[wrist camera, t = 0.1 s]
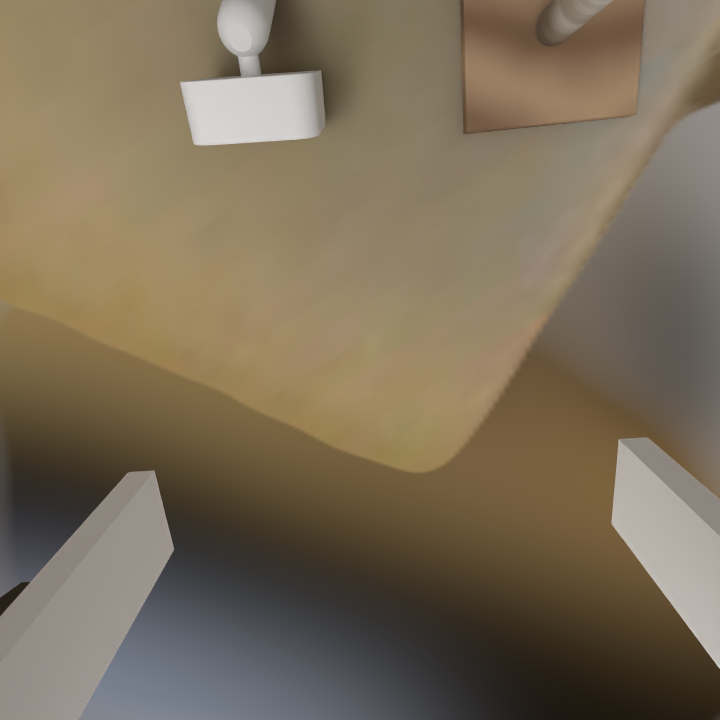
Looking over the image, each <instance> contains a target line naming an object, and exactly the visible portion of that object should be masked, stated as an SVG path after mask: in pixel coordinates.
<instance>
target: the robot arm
mask: <svg viewBox="0 0 720 720" xmlns="http://www.w3.org/2000/svg"><path fill="white" fill-rule="evenodd" d="M618 445H619V446H618V456H617V468H616V479H615V490H614V502H613V513H612V525H613V526H614V528H615V529H616V530H617V532H618V533H619V534H620V536H621V537H622V538H623V540H624V541H625V542H626V544H627V545H628V546H629V548H630V549H631V550H632V552H633V553H634V554H635V556H636V557H637V558H638V560H639V561H640V562H641V564H642V565H643V566H644V568H645V569H646V570H647V572H648V573H649V574H650V576H651V577H652V578H653V580H654V581H655V582H656V584H657V585H658V586H659V588H660V589H661V590H662V592H663V593H664V594H665V596H666V597H667V598H668V600H669V601H670V603H671V604H672V605H673V607H674V608H675V609H676V611H677V612H678V613H679V615H680V616H681V617H682V619H683V620H684V621H685V623H686V624H687V625H688V627H689V628H690V629H691V631H692V632H693V633H694V635H695V636H696V637H697V639H698V640H699V641H700V643H701V644H702V645H703V647H704V648H705V649H706V650H707V652H708V653H709V655H710V656H711V657H712V659H713V660H714V661H715V663H716V664H717V665H718V667H719V668H720V499H718V497H716V496H715V495H714V494H713V493H712V492H710V491H709V490H708V489H707V488H706V487H705V486H704V485H702V484H701V483H700V482H699V481H698V480H697V479H695V478H694V477H693V476H692V475H691V474H689V473H688V472H687V471H686V470H685V469H684V468H682V467H681V466H680V465H679V464H678V463H677V462H675V461H674V460H673V459H672V458H671V457H670V456H668V455H667V454H666V453H665V452H664V451H663V450H661V449H660V448H659V447H658V446H657V445H655V444H654V443H653V442H652V441H651V440H650V439H649V438H632V439H619V444H618ZM173 550H174V548H173V544H172V540H171V536H170V532H169V528H168V524H167V520H166V516H165V512H164V508H163V504H162V500H161V496H160V492H159V488H158V484H157V480H156V476H155V472H154V471H143V472H129V473H127V475H126V476H125V477H124V478H123V479H122V480H121V481H120V482H119V483H118V485H117V486H116V487H115V488H114V489H113V490H112V491H111V492H110V494H109V495H108V496H107V497H106V498H105V499H104V500H103V501H102V503H101V504H100V505H99V506H98V507H97V508H96V509H95V510H94V512H93V513H92V514H91V515H90V516H89V517H88V518H87V519H86V521H85V522H84V523H83V524H82V525H81V527H79V528H78V530H77V531H76V532H75V533H74V534H73V535H72V536H71V538H70V539H69V540H68V541H67V542H66V543H65V544H64V545H63V546H62V547H61V549H60V550H59V551H58V552H57V553H56V554H55V555H54V557H53V558H52V559H51V560H50V561H49V562H48V563H47V564H46V566H45V567H44V568H43V569H42V570H41V571H40V572H39V573H38V575H37V576H36V577H35V578H34V579H33V580H32V581H31V582H22V583H20V584H19V585H17V586H16V587H15V588H13V589H12V590H10V591H9V592H8V593H6V594H5V595H3V596H2V597H1V598H0V720H78V719H79V717H80V716H81V714H82V712H83V710H84V708H85V707H86V705H87V703H88V701H89V700H90V698H91V696H92V694H93V693H94V691H95V689H96V687H97V685H98V683H99V682H100V680H101V678H102V677H103V675H104V673H105V671H106V669H107V668H108V666H109V664H110V662H111V661H112V659H113V657H114V655H115V653H116V652H117V650H118V648H119V646H120V644H121V643H122V641H123V639H124V637H125V636H126V634H127V632H128V630H129V629H130V627H131V625H132V623H133V621H134V620H135V618H136V616H137V614H138V612H139V611H140V609H141V607H142V605H143V604H144V602H145V600H146V598H147V596H148V595H149V593H150V591H151V589H152V588H153V585H154V584H155V582H156V580H157V579H158V577H159V575H160V573H161V572H162V570H163V568H164V566H165V565H166V563H167V561H168V559H169V557H170V556H171V554H172V552H173Z"/></svg>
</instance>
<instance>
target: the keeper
mask: <svg viewBox="0 0 720 720" xmlns="http://www.w3.org/2000/svg"><path fill="white" fill-rule="evenodd" d="M460 1H461V42H462V83H463V124H464V134H468V133H478V132H488V131H497V130H507V129H517V128H526V127H536V126H546V125H555V124H565V123H574V122H584V121H594V120H603V119H613V118H623V117H629V116H632V115H635V114H636V109H637V96H638V83H639V69H640V56H641V43H642V30H643V17H644V3H645V0H460Z"/></svg>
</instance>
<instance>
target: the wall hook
mask: <svg viewBox="0 0 720 720" xmlns="http://www.w3.org/2000/svg"><path fill="white" fill-rule="evenodd" d="M275 4H276V0H222V3H221V6H220V9H219V13H218V17H217V29H218V33H219V36H220V39H221V41H222V42H223V44H224V46H225V47H226V48H227V49H228V50H229V51H230V52H231V53H233V54H234V55H236V56H238V60H239V66H240V72H241V76H230V77H217V78H206V79H199V80H191V81H184V82H180V85H181V90H182V94H183V99H184V103H185V107H186V112H187V116H188V121H189V125H190V130H191V134H192V139H193V143H194V144H195V145H220V144H236V143H251V142H266V141H282V140H297V139H306V138H312V137H316V136H319V135H320V134H321V132H322V130H323V128H324V127H325V125H326V120H325V109H324V98H323V86H322V75H321V70H317V71H301V72H287V73H272V74H261V69H260V61H259V53H260V52H261V51H262V50H263V49H264V48H265V46H266V44H267V42H268V39H269V34H270V30H271V25H272V19H273V14H274V9H275Z"/></svg>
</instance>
